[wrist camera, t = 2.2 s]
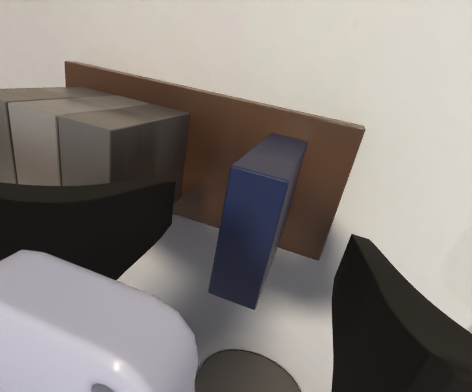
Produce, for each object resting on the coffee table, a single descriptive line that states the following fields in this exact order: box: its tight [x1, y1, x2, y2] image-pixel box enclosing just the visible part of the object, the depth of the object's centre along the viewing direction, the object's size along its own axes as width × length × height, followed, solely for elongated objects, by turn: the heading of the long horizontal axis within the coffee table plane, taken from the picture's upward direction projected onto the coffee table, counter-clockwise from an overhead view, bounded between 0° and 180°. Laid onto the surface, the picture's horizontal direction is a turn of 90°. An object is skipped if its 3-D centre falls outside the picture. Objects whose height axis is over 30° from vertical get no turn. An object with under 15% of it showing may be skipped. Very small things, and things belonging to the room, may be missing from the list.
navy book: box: [209, 133, 308, 309], centre depth 14 cm, size 6×2×7 cm, turn 169°
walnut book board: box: [0, 61, 365, 260], centre depth 15 cm, size 8×18×9 cm, turn 79°
